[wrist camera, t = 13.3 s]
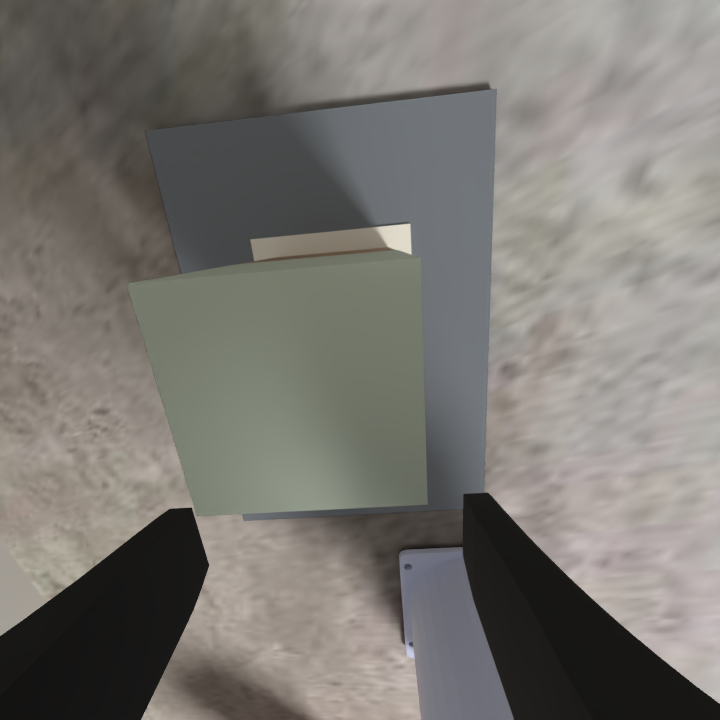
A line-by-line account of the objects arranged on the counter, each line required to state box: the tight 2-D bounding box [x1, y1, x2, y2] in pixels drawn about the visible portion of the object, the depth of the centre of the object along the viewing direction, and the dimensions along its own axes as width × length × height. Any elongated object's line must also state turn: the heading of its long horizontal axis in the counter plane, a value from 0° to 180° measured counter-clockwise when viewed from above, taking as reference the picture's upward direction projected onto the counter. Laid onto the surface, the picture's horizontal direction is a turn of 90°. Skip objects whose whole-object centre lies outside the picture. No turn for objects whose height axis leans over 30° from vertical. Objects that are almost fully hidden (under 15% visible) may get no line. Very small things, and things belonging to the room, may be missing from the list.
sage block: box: [127, 250, 428, 516], centre depth 9 cm, size 5×5×5 cm
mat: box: [145, 89, 497, 521], centre depth 17 cm, size 20×14×1 cm
